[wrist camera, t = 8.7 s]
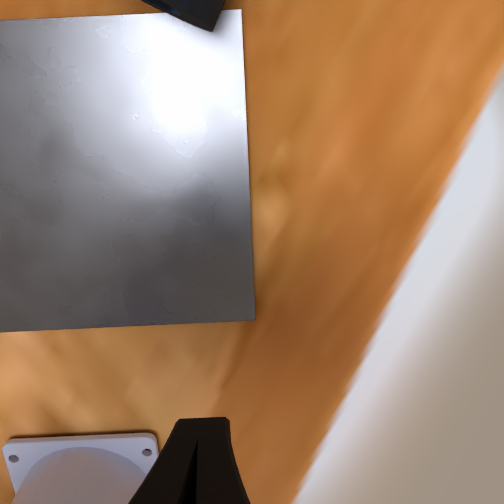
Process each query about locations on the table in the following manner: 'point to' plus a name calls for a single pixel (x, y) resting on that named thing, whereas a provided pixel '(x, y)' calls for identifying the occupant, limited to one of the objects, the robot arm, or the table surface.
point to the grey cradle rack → (123, 173)
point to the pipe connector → (192, 11)
